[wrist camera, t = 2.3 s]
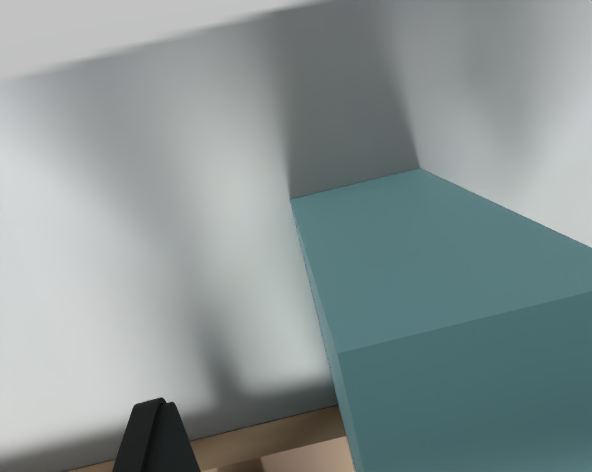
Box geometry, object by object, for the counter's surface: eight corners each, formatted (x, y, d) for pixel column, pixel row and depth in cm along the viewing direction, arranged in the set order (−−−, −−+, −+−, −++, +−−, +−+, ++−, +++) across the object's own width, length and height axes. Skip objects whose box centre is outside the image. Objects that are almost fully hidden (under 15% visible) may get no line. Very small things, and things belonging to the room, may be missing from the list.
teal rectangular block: (420, 168, 14) (652, 276, 6) (451, 388, 16) (644, 682, 8) (289, 199, 14) (336, 353, 6) (340, 415, 16) (424, 738, 8)
